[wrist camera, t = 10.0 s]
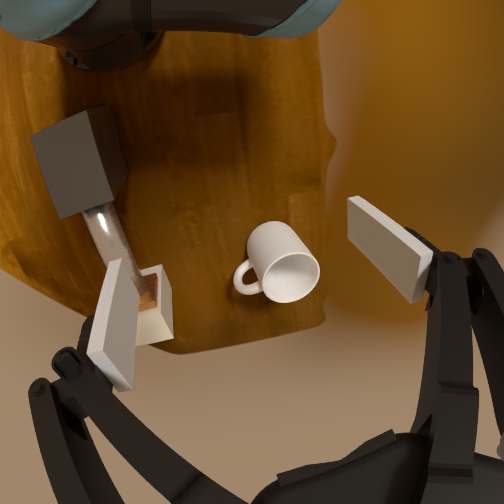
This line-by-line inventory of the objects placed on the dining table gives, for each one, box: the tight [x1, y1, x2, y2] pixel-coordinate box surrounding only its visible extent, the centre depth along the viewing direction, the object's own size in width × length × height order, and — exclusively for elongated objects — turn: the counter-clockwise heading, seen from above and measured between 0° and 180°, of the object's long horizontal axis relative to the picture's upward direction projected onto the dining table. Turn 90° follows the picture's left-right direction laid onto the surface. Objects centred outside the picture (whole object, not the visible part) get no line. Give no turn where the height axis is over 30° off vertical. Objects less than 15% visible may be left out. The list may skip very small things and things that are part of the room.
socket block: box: [136, 264, 174, 347], centre depth 42 cm, size 5×7×12 cm
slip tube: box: [81, 201, 158, 311], centre depth 35 cm, size 20×6×6 cm, turn 10°
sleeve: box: [30, 105, 129, 219], centre depth 30 cm, size 10×7×11 cm
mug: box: [233, 221, 320, 303], centre depth 44 cm, size 12×8×10 cm
